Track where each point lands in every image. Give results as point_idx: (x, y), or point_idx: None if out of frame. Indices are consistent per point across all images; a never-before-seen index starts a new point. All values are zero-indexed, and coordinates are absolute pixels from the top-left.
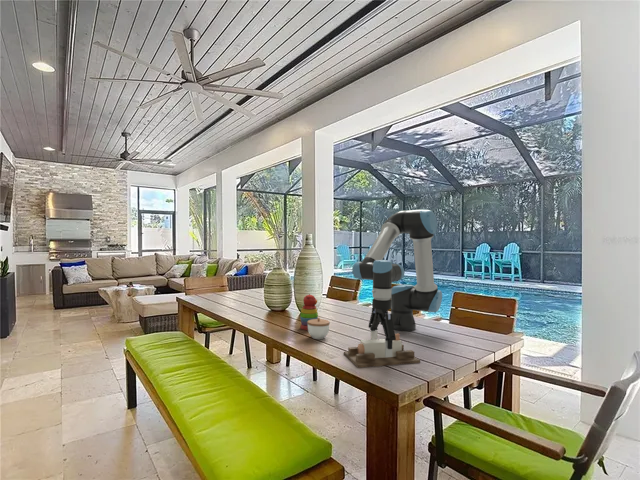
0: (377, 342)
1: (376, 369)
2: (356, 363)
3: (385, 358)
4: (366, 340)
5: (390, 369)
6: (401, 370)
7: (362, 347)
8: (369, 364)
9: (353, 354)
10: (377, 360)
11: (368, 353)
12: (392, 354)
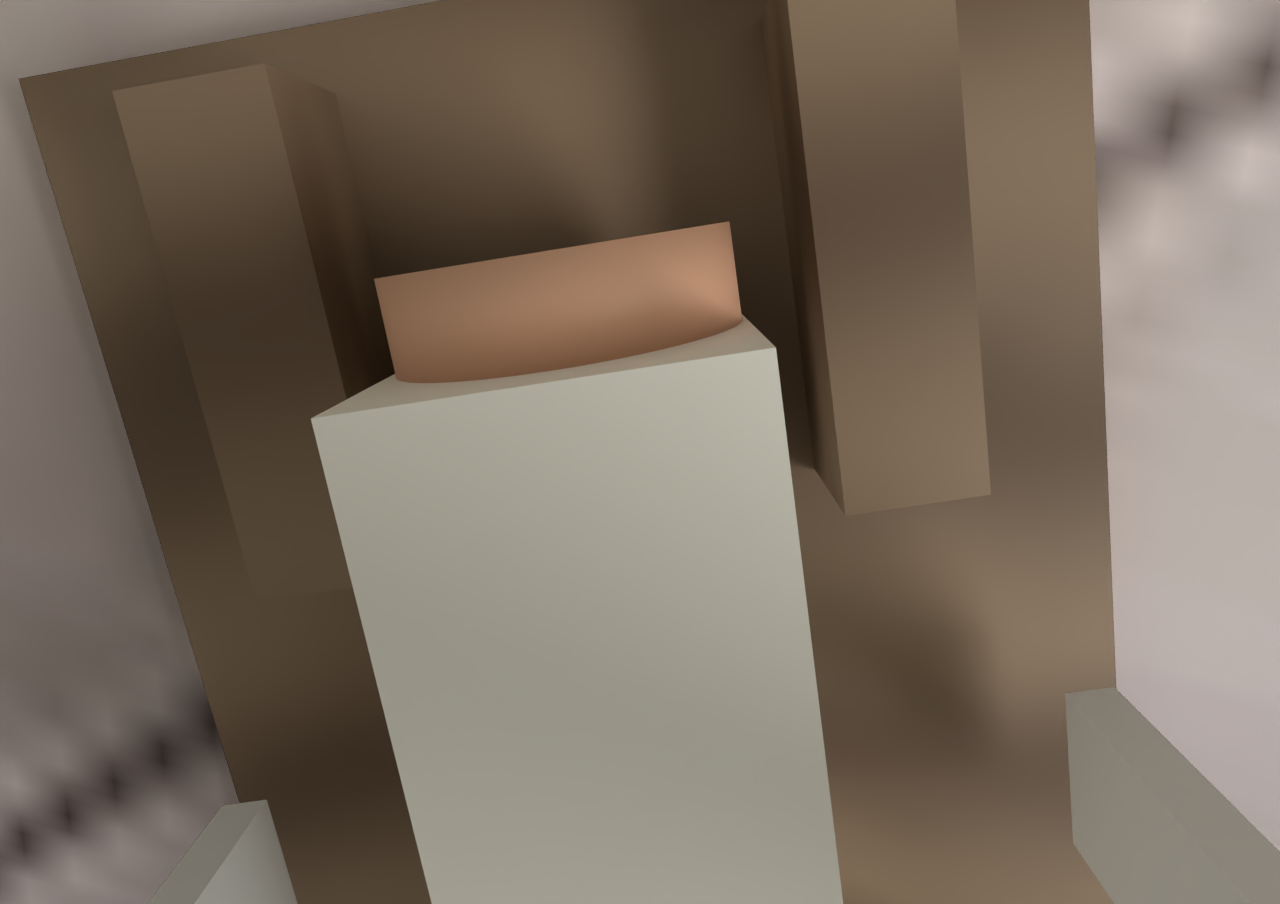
0: (471, 900)
1: (15, 475)
2: (128, 67)
3: None
4: (743, 587)
5: (45, 730)
6: (17, 893)
7: (399, 321)
8: (111, 375)
9: (772, 123)
10: (355, 610)
11: None
12: None
